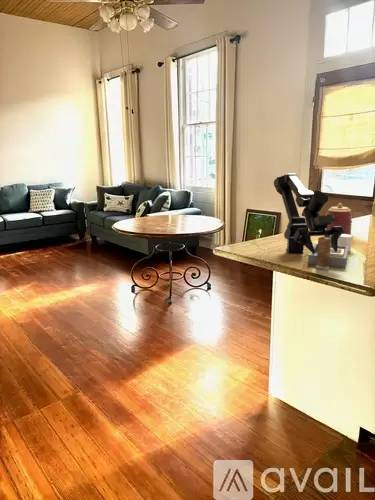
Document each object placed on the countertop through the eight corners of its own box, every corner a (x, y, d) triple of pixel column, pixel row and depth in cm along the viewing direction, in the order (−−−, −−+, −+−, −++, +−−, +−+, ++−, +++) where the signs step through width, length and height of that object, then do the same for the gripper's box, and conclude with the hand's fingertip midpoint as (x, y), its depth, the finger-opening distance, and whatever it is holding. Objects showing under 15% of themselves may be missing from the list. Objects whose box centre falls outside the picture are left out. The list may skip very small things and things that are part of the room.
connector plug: (318, 270, 142) (320, 240, 139) (314, 266, 146) (316, 237, 143) (330, 270, 142) (332, 239, 139) (326, 266, 146) (328, 237, 143)
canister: (331, 232, 205) (334, 200, 200) (355, 236, 196) (358, 202, 191) (319, 236, 197) (322, 203, 192) (343, 240, 187) (346, 205, 183)
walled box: (307, 264, 150) (308, 252, 148) (314, 252, 167) (314, 241, 166) (345, 268, 144) (346, 255, 142) (347, 255, 161) (348, 244, 160)
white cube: (341, 252, 165) (342, 237, 164) (332, 248, 172) (334, 234, 170) (355, 251, 167) (356, 236, 165) (346, 247, 173) (347, 233, 171)
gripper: (298, 207, 141) (310, 242, 133) (343, 205, 143) (358, 239, 136) (288, 224, 150) (299, 257, 142) (331, 222, 153) (344, 254, 145)
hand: (325, 252), depth 141 cm, fingers open, 9 cm apart
